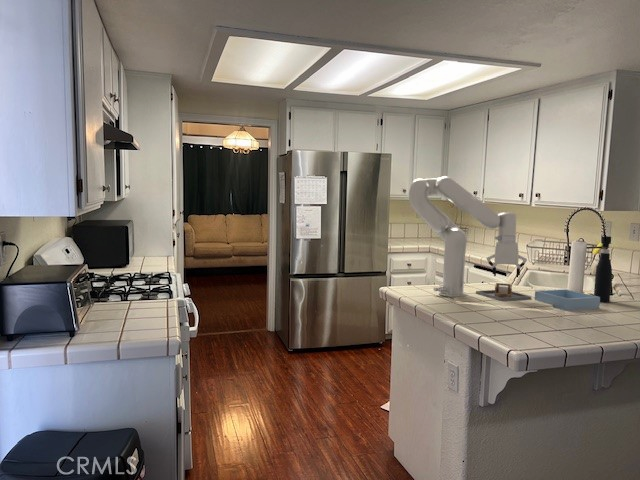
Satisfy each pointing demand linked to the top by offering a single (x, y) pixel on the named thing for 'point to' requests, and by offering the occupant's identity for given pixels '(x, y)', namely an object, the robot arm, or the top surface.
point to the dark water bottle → (603, 273)
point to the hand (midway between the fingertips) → (506, 276)
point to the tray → (513, 297)
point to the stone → (503, 289)
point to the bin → (568, 299)
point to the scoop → (502, 293)
